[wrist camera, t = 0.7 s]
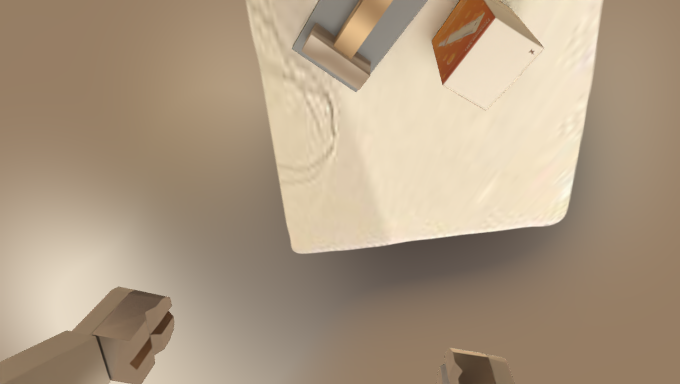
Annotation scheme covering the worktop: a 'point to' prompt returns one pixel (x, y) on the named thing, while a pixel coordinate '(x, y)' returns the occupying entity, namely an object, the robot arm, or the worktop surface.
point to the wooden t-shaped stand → (347, 43)
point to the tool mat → (334, 13)
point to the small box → (483, 50)
